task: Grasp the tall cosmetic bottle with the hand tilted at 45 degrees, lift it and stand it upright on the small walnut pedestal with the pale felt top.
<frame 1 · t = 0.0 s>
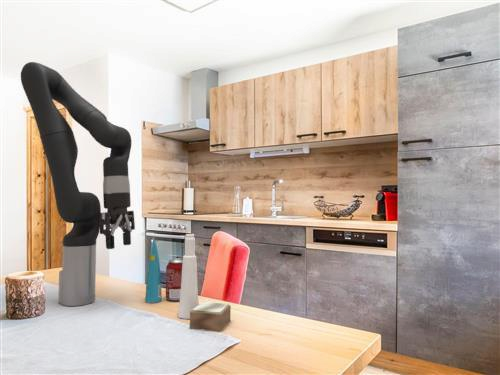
hand: (119, 246, 109), 17 cm above the table, tool pointing down, fingers open, 8 cm apart
pedestal: (210, 324, 93), on the table
cosmetic bottle: (188, 316, 100), on the table
soda can: (176, 299, 115), on the table
tube: (153, 301, 113), on the table
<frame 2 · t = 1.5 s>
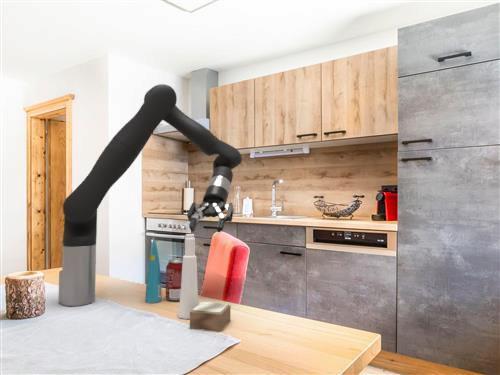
hand: (205, 230, 111), 22 cm above the table, tool tilted 45°, fingers open, 8 cm apart
nothing on the table moved.
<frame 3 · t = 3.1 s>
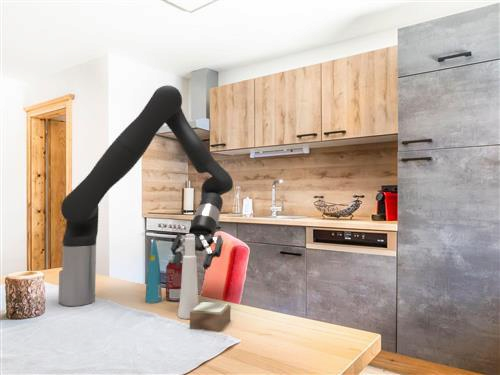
hand: (190, 266, 100), 13 cm above the table, tool tilted 45°, fingers open, 8 cm apart
nothing on the table moved.
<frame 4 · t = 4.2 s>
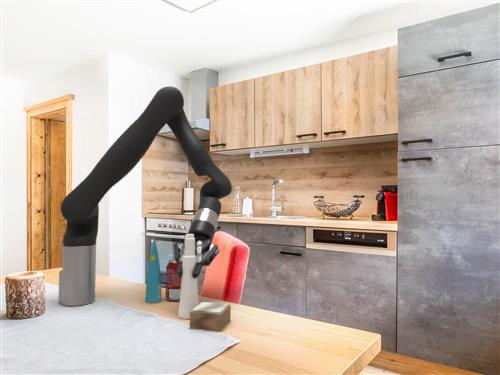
hand: (186, 276, 98), 11 cm above the table, tool tilted 45°, fingers closed on cosmetic bottle, 3 cm apart
cosmetic bottle: (188, 316, 100), on the table, touching gripper
everything else where it was.
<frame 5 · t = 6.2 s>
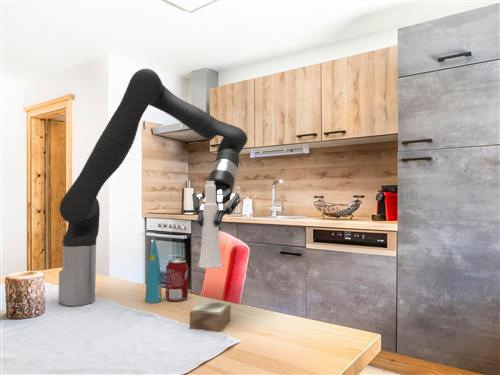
hand: (208, 224, 93), 25 cm above the table, tool tilted 45°, fingers closed on cosmetic bottle, 3 cm apart
cosmetic bottle: (210, 267, 95), point 14 cm above the table, touching gripper
everything else where it was.
when the fingers open (16 cm above the table, at t = 8.3 s): cosmetic bottle stays where it is, resting on pedestal.
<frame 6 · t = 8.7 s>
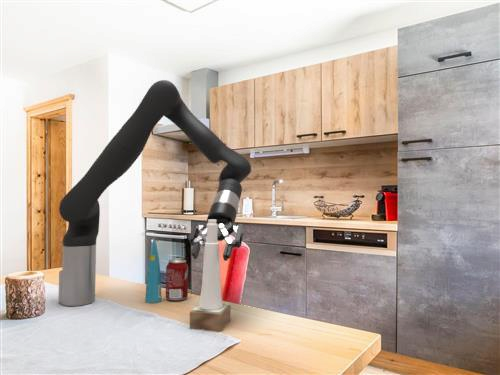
hand: (209, 257, 92), 17 cm above the table, tool tilted 45°, fingers open, 7 cm apart
cosmetic bottle: (210, 307, 93), point 4 cm above the table, touching pedestal
everything else where it was.
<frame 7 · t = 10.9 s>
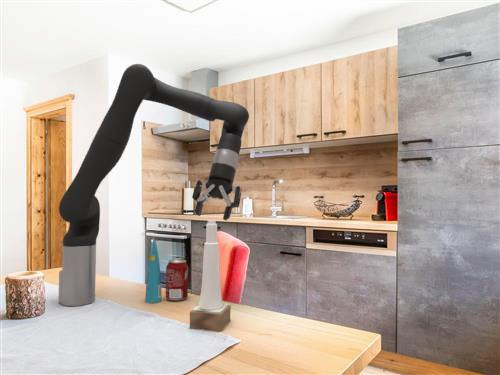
hand: (211, 217, 108), 26 cm above the table, tool tilted 20°, fingers open, 8 cm apart
nothing on the table moved.
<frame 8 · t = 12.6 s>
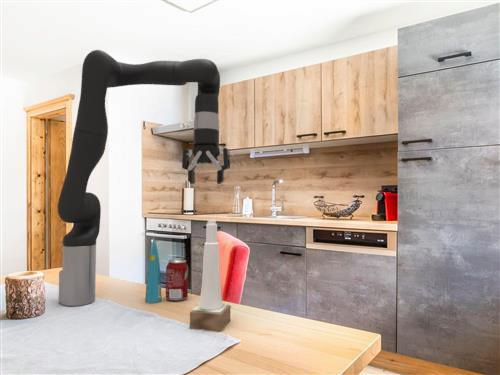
hand: (205, 183, 109), 36 cm above the table, tool pointing down, fingers open, 8 cm apart
nothing on the table moved.
at the end: cosmetic bottle inside the target area on the pedestal (0.2 cm from its centre), point 4.2 cm above the pedestal's base; cosmetic bottle tilted 0°; the gripper is holding nothing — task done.
